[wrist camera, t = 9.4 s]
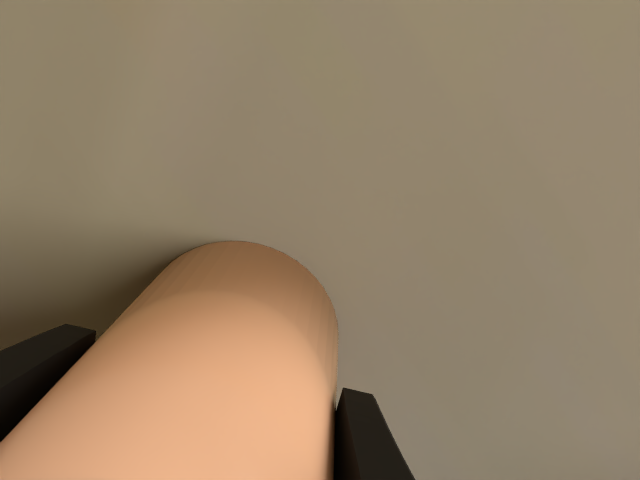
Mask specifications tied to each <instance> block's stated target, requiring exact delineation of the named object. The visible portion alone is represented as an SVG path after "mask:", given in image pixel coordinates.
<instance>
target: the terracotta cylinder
mask: <svg viewBox="0 0 640 480" xmlns="http://www.w3.org/2000/svg"><path fill="white" fill-rule="evenodd" d="M337 362H338V323H337V318H336V314H335V310H334V308H333V305H332V303H331V300H330V298H329V296H328V295H327V293H326V291H325V289H324V288H323V287H322V285H321V284H320V283H319V281H318V280H317V279H316V278H315V277H314V276H313V275H312V274H311V273H310V272H309V271H308V270H307V269H306V268H305V267H304V266H303V265H301V264H300V263H299V262H297V261H296V260H294V259H293V258H291V257H289V256H288V255H286V254H284V253H282V252H280V251H277V250H275V249H273V248H270V247H267V246H263V245H260V244H256V243H250V242H242V241H225V242H216V243H211V244H206V245H203V246H200V247H197V248H194V249H192V250H190V251H188V252H186V253H184V254H182V255H181V256H179V257H178V258H177V259H175V260H174V261H172V262H171V263H170V264H169V265H168V266H167V267H166V268H165V269H164V270H163V271H162V272H161V273H160V274H159V275H158V276H157V277H156V278H155V279H154V280H153V282H152V283H151V284H150V285H149V286H148V287H147V288H146V289H145V290H144V291H143V292H142V293H141V294H140V295H139V296H138V297H137V298H136V300H135V301H134V302H133V303H132V304H131V305H130V306H129V307H128V308H127V309H126V310H125V311H124V312H123V313H122V314H121V315H120V316H119V318H118V319H117V320H116V321H115V322H114V323H113V324H112V325H111V326H110V327H109V328H108V329H107V330H106V331H105V332H104V333H103V334H102V336H101V337H100V338H99V339H98V340H97V341H96V342H95V343H94V344H93V345H92V346H91V347H90V348H89V349H88V350H87V351H86V352H85V354H84V355H83V356H82V357H81V358H80V359H79V360H78V361H77V362H76V363H75V364H74V365H73V366H72V367H71V368H70V369H69V370H68V372H67V373H66V374H65V375H64V376H63V377H62V378H61V379H60V380H59V381H58V382H57V383H56V384H55V385H54V386H53V387H52V388H51V390H50V391H49V392H48V393H47V394H46V395H45V396H44V397H43V398H42V399H41V400H40V401H39V402H38V403H37V404H36V405H35V406H34V408H33V409H32V410H31V411H30V412H29V413H28V414H27V415H26V416H25V417H24V418H23V419H22V420H21V421H20V422H19V423H18V424H17V426H16V427H15V428H14V429H13V430H12V431H11V432H10V433H9V434H8V435H7V436H6V437H5V438H4V439H3V440H2V441H1V442H0V480H333V476H334V447H335V419H336V390H337Z"/></svg>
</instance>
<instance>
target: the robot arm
mask: <svg viewBox="0 0 640 480" xmlns="http://www.w3.org/2000/svg"><path fill="white" fill-rule="evenodd" d="M95 337H96V331H94V330H90V329H86V328H81V327H77V326H73V325H68V324H65V325H62V326H59V327H57V328H54V329H51V330H49V331H46V332H44V333H42V334H39V335H37V336H34V337H32V338H30V339H27V340H25V341H23V342H20V343H18V344H16V345H13V346H11V347H9V348H6V349H4V350H2V351H0V442H1V441H2V440H3V439H4V438H5V437H6V436H7V435H8V434H9V433H10V432H11V431H12V430H13V429H14V428H15V427H16V426H17V424H18V423H19V422H20V421H21V420H22V419H23V418H24V417H25V416H26V415H27V414H28V413H29V412H30V411H31V410H32V409H33V408H34V406H35V405H36V404H37V403H38V402H39V401H40V400H41V399H42V398H43V397H44V396H45V395H46V394H47V393H48V392H49V391H50V390H51V388H52V387H53V386H54V385H55V384H56V383H57V382H58V381H59V380H60V379H61V378H62V377H63V376H64V375H65V374H66V373H67V372H68V370H69V369H70V368H71V367H72V366H73V365H74V364H75V363H76V362H77V361H78V360H79V359H80V358H81V357H82V356H83V355H84V354H85V352H86V351H87V350H88V349H89V348H90V347H91V346H92V345H93V344H94V343H95ZM333 480H415V478H414V477H413V475H412V473H411V471H410V469H409V467H408V465H407V464H406V462H405V460H404V458H403V456H402V454H401V452H400V450H399V448H398V446H397V444H396V442H395V440H394V438H393V436H392V434H391V432H390V430H389V428H388V426H387V423H386V421H385V419H384V417H383V415H382V413H381V410H380V408H379V406H378V404H377V402H376V400H375V398H374V396H373V395H372V394H369V393H364V392H360V391H356V390H351V389H347V388H343V390H342V393H341V396H340V400H339V403H338V406H337V410H336V419H335V447H334V476H333Z"/></svg>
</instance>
